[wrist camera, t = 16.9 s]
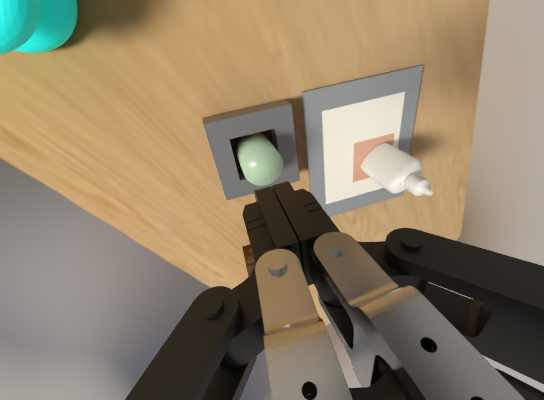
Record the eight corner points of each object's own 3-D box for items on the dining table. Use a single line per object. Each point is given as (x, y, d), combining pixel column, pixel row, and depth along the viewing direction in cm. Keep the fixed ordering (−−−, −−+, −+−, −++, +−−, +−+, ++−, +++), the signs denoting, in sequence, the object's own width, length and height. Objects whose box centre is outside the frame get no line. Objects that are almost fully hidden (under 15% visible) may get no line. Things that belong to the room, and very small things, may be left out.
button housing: (202, 118, 32) (203, 124, 30) (284, 99, 34) (291, 104, 31) (224, 190, 39) (226, 200, 36) (293, 172, 40) (299, 180, 38)
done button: (232, 137, 34) (238, 153, 29) (268, 128, 34) (280, 142, 30) (240, 170, 37) (247, 190, 32) (273, 161, 37) (285, 179, 32)
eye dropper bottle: (390, 162, 43) (448, 198, 33) (360, 175, 43) (409, 214, 33) (389, 139, 41) (452, 170, 31) (357, 152, 40) (410, 187, 30)
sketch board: (301, 91, 34) (303, 92, 33) (420, 65, 36) (424, 65, 36) (312, 219, 46) (313, 221, 46) (400, 193, 48) (403, 195, 48)
